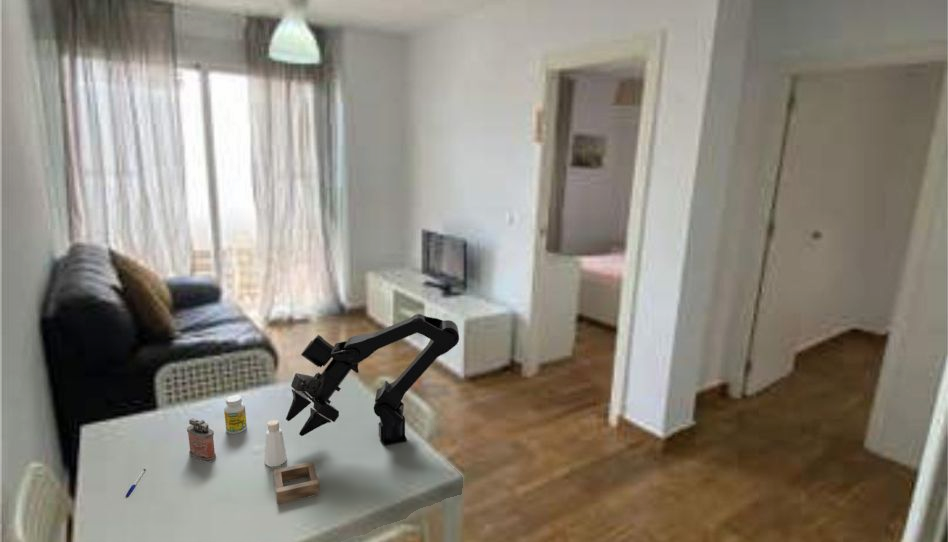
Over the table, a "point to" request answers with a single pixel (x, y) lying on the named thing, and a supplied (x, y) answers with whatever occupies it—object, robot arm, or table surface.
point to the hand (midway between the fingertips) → (293, 427)
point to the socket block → (298, 489)
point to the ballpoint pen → (135, 483)
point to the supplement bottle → (235, 415)
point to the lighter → (201, 441)
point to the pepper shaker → (274, 445)
